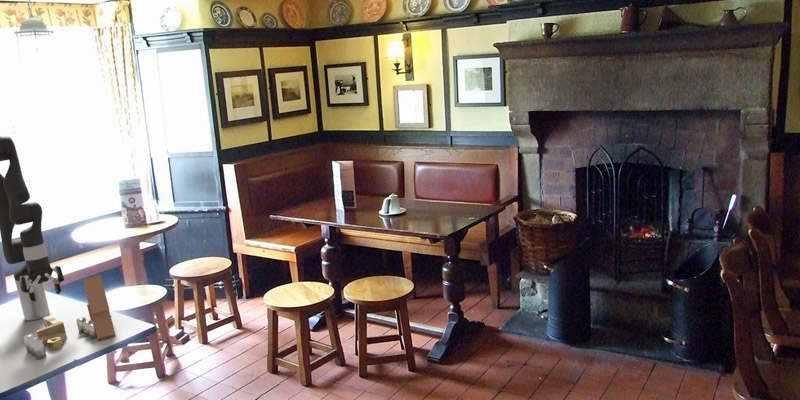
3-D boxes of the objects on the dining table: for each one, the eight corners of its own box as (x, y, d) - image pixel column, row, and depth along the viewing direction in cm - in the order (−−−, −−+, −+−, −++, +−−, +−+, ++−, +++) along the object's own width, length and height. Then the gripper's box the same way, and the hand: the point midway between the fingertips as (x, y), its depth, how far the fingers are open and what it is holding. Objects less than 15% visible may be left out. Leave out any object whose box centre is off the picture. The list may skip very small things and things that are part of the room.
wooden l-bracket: (28, 338, 246) (24, 323, 245) (53, 329, 252) (49, 315, 251) (41, 347, 236) (37, 331, 235) (67, 337, 243) (63, 322, 241)
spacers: (25, 351, 234) (21, 335, 233) (86, 328, 249) (82, 314, 248) (38, 360, 225) (34, 344, 223) (101, 336, 240) (97, 321, 238)
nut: (46, 348, 235) (44, 340, 234) (60, 343, 238) (58, 335, 237) (51, 351, 232) (49, 343, 231) (65, 346, 235) (63, 338, 234)
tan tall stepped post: (100, 358, 251) (95, 334, 231) (87, 305, 260) (81, 278, 240) (119, 352, 255) (116, 328, 235) (106, 300, 264) (101, 273, 244)
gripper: (52, 249, 248) (62, 289, 251) (11, 260, 238) (22, 302, 241) (60, 252, 243) (69, 292, 246) (18, 263, 233) (29, 306, 236)
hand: (46, 297), depth 244 cm, fingers open, 8 cm apart
